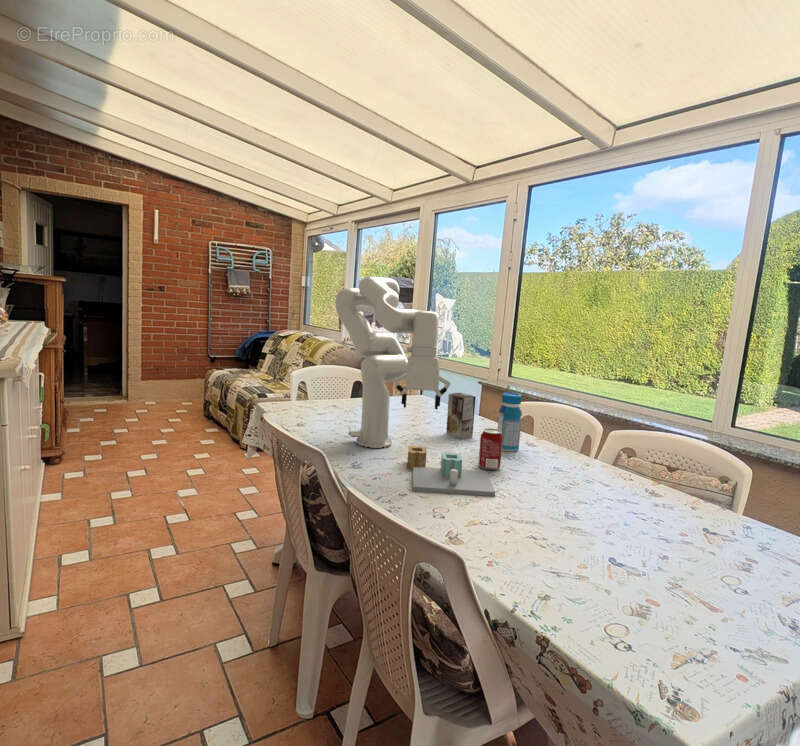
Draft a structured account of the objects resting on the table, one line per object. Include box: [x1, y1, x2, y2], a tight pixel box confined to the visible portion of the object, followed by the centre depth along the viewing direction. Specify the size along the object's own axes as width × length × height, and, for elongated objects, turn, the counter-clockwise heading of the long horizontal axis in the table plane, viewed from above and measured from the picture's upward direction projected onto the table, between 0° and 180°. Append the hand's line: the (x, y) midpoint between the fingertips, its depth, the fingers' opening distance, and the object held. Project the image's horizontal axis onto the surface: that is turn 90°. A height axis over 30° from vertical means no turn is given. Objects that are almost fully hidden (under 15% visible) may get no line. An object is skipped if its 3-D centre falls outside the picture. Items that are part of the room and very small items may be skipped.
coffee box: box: [445, 392, 476, 440], centre depth 183 cm, size 9×6×16 cm
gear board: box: [412, 451, 496, 497], centre depth 133 cm, size 22×16×6 cm
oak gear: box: [406, 445, 427, 470], centre depth 147 cm, size 6×7×5 cm
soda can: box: [477, 427, 503, 471], centre depth 148 cm, size 7×7×12 cm
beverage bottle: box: [496, 392, 523, 452], centre depth 168 cm, size 8×8×20 cm
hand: (420, 407), depth 144 cm, fingers open, 9 cm apart
